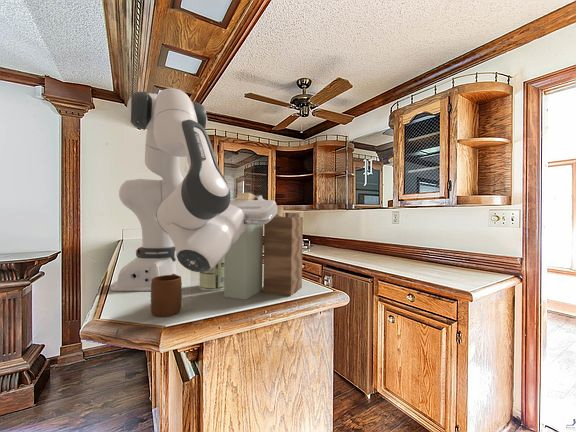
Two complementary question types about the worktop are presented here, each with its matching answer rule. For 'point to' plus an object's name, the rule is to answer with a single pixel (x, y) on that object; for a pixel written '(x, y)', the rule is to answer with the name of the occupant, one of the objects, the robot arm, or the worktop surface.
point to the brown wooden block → (283, 255)
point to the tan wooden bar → (252, 197)
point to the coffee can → (213, 278)
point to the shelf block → (244, 264)
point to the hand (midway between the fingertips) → (251, 197)
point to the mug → (166, 295)
